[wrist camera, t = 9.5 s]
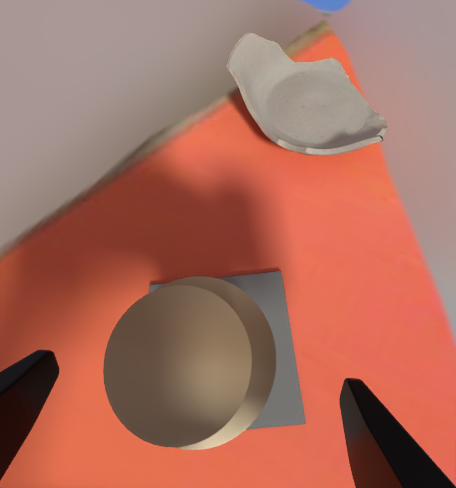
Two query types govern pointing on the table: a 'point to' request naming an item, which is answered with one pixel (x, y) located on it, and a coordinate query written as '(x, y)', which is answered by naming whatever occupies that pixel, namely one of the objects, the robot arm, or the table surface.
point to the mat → (286, 376)
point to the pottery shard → (302, 100)
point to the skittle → (190, 364)
